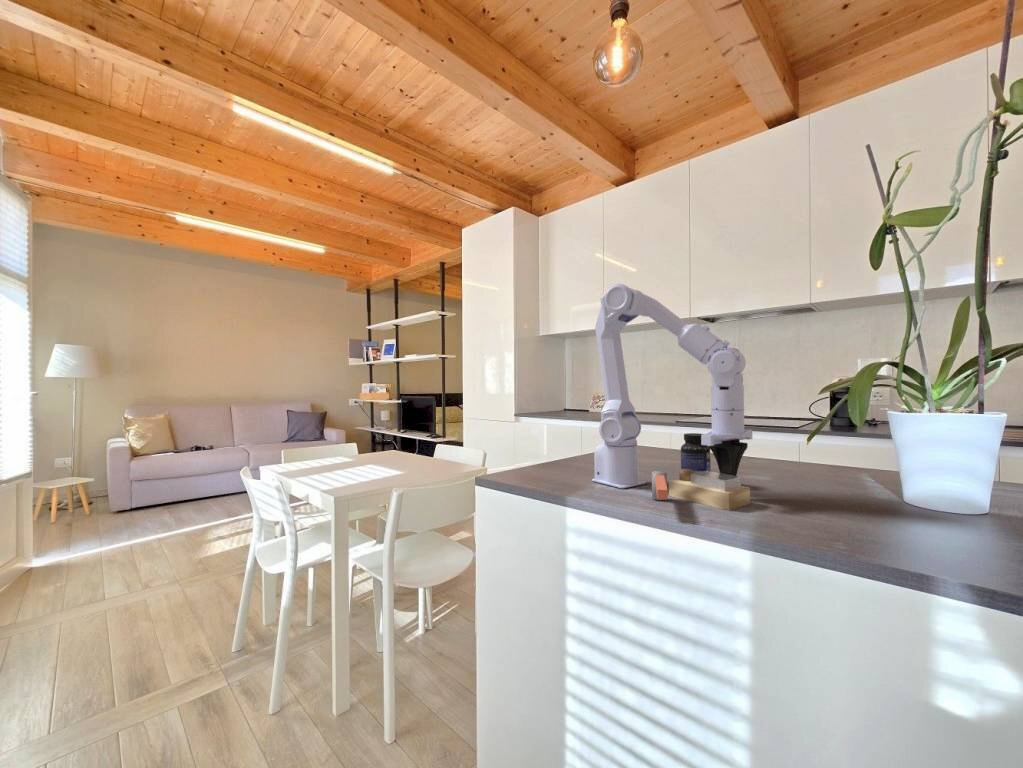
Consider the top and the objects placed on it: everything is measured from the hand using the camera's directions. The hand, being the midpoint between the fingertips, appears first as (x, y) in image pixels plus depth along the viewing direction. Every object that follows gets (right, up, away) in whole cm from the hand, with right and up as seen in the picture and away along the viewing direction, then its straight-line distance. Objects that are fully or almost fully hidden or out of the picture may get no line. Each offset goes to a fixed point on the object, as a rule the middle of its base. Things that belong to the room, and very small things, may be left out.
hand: (728, 479), depth 85 cm
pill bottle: (-1, -4, +12) cm, 13 cm away
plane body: (-4, -4, -1) cm, 6 cm away
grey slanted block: (-4, -1, -2) cm, 4 cm away
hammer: (-15, -4, -5) cm, 16 cm away
